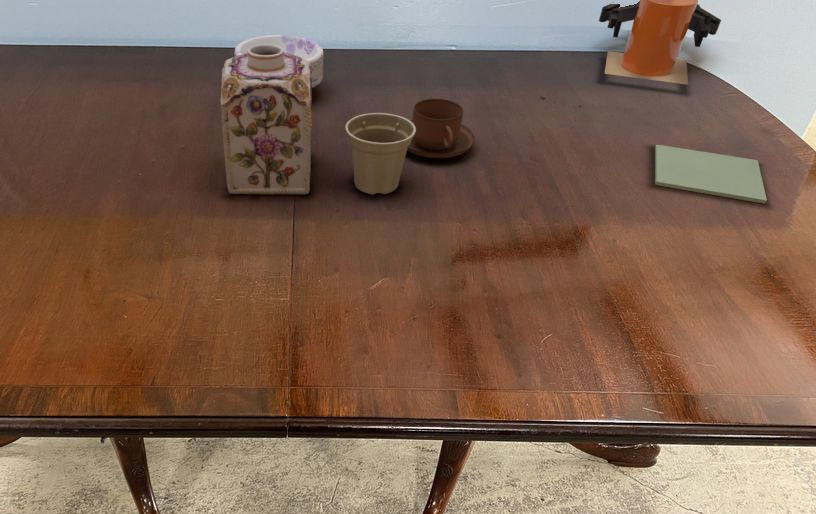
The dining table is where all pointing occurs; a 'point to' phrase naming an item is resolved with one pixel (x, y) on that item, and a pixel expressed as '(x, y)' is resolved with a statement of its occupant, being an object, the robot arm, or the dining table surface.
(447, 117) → the cup and saucer
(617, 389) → the dining table surface
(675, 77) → the board
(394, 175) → the flower pot
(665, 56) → the canister
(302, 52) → the white floral bowl
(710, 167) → the mat
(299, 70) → the decorative jar
